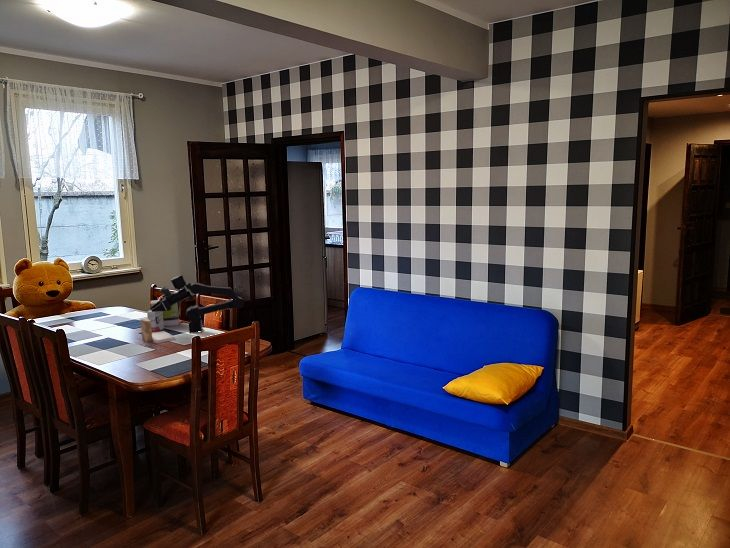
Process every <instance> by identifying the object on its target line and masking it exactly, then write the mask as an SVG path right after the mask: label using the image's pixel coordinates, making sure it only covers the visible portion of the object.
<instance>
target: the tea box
mask: <svg viewBox="0 0 730 548" xmlns="http://www.w3.org/2000/svg"><path fill="white" fill-rule="evenodd" d="M159 300H160V299H157V300H156V299H155V300H150V303H149V304H150V305H149V307H150V310H152V309H153V308H152V306H153V305H154V304H155V303H157V302H158V301H159ZM178 304H179V303H176V304H174V305H173V306H171V307H172V308H171V310H169V311H163V323H164V327H173V326H180V315H179V307H178ZM166 310H167V309H166Z"/></svg>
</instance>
